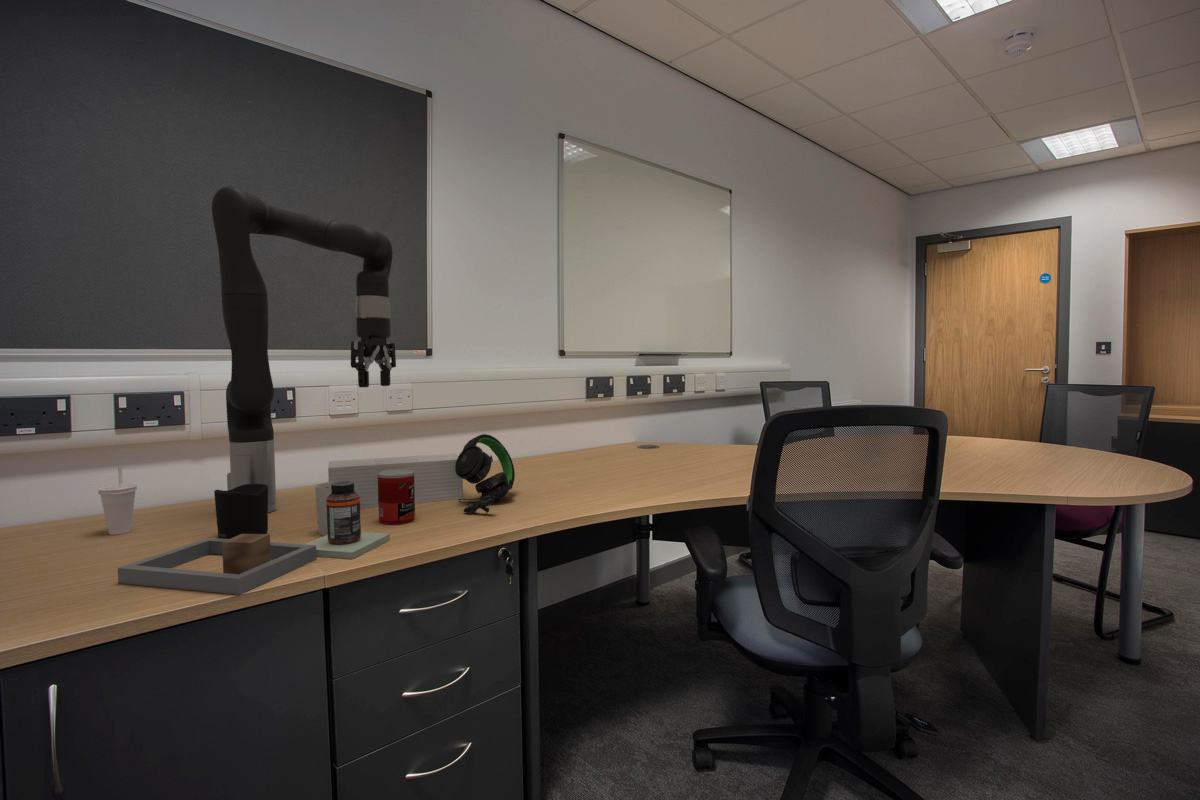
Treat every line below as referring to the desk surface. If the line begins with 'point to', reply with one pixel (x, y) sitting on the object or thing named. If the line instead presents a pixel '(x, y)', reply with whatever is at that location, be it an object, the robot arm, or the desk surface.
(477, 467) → the headset
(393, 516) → the canned food
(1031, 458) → the desk surface
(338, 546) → the green board
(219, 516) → the pen holder
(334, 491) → the supplement bottle
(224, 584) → the parts tray
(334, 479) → the grey ridged block
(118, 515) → the smoothie
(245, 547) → the walnut block
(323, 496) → the grey cup
